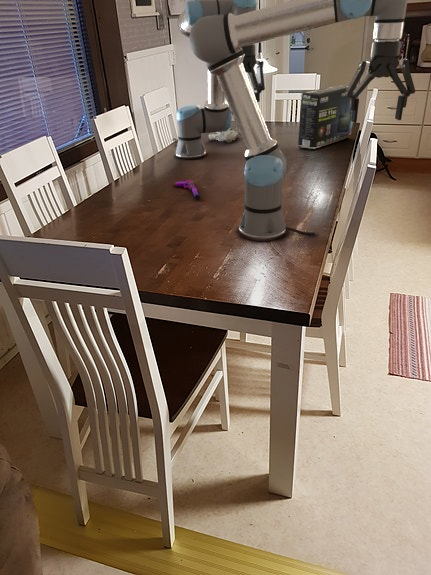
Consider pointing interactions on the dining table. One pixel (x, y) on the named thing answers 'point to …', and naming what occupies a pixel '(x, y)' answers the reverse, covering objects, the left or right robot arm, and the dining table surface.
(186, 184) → the handgun
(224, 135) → the fossil
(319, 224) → the dining table surface
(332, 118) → the router box
